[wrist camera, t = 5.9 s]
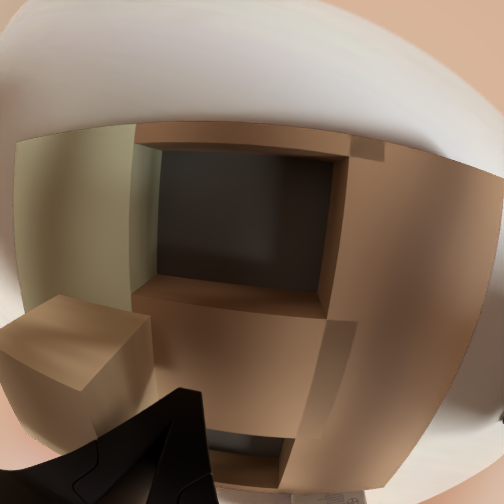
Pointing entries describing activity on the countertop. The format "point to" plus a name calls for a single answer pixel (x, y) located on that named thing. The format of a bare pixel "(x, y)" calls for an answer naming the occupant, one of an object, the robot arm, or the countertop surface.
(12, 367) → the block
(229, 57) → the countertop surface
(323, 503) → the medicine box
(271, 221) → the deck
